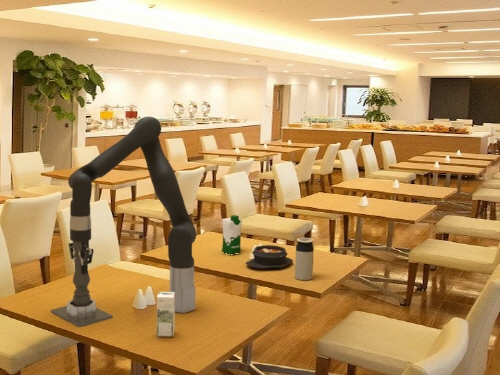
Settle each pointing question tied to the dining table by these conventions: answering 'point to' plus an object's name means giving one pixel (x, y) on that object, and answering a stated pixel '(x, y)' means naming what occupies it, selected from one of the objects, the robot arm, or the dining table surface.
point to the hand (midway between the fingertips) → (81, 272)
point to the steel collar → (81, 313)
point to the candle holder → (80, 280)
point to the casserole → (269, 257)
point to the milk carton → (231, 235)
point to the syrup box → (165, 314)
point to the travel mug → (304, 259)
